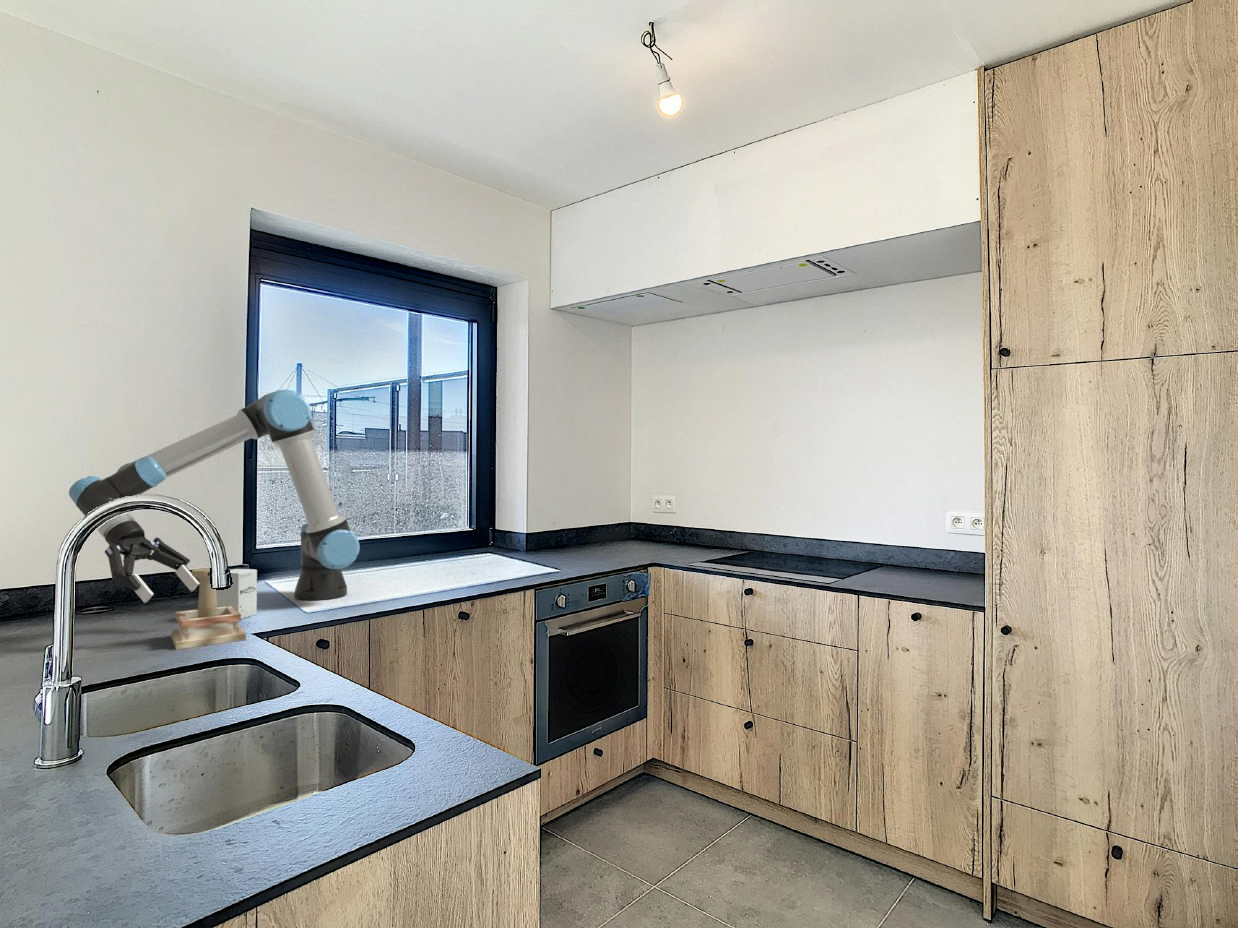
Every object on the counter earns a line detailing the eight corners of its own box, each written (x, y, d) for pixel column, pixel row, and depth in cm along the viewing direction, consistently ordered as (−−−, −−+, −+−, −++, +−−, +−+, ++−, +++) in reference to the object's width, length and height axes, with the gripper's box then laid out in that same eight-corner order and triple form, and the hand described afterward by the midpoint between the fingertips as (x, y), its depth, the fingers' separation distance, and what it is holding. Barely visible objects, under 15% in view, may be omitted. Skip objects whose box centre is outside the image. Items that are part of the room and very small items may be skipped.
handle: (190, 631, 166) (190, 569, 166) (221, 627, 170) (221, 566, 170) (193, 635, 162) (193, 571, 162) (224, 631, 166) (224, 569, 166)
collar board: (236, 628, 176) (236, 604, 176) (245, 639, 164) (245, 614, 164) (170, 636, 167) (170, 611, 167) (176, 649, 156) (176, 622, 156)
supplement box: (238, 620, 184) (238, 573, 183) (213, 619, 185) (213, 572, 185) (257, 614, 191) (257, 568, 191) (234, 613, 192) (234, 567, 192)
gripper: (154, 534, 183) (203, 593, 180) (61, 546, 158) (117, 614, 156) (171, 514, 182) (221, 573, 179) (80, 523, 157) (137, 592, 155)
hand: (173, 592), depth 168 cm, fingers open, 13 cm apart
